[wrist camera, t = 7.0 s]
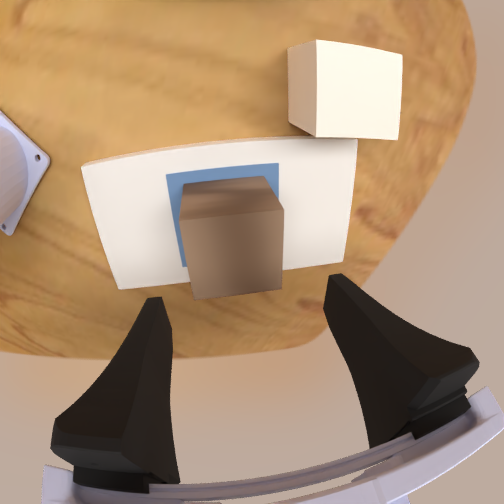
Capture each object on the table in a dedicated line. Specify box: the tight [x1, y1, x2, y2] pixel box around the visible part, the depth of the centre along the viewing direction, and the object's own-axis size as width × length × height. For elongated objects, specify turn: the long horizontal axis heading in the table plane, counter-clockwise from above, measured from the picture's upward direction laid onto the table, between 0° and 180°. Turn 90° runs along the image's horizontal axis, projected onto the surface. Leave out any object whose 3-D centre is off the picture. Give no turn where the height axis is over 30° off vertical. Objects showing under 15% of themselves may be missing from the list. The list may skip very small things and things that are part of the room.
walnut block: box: [179, 176, 284, 300], centre depth 17 cm, size 5×5×5 cm
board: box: [81, 136, 358, 290], centre depth 20 cm, size 18×10×1 cm, turn 92°
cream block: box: [287, 40, 402, 140], centre depth 14 cm, size 5×5×5 cm
